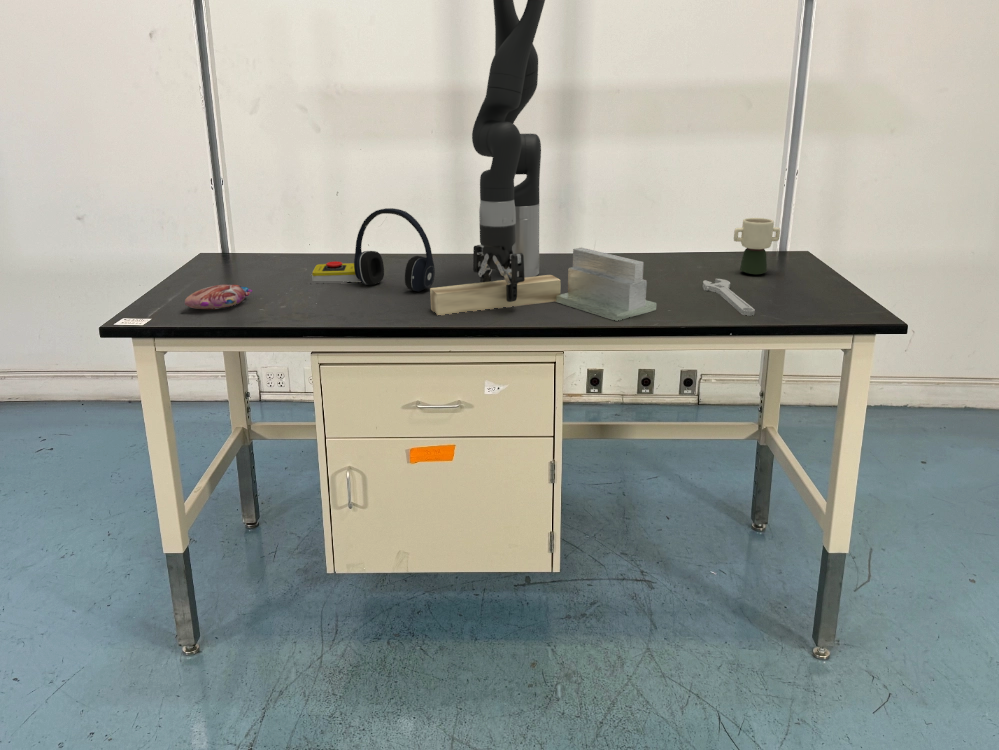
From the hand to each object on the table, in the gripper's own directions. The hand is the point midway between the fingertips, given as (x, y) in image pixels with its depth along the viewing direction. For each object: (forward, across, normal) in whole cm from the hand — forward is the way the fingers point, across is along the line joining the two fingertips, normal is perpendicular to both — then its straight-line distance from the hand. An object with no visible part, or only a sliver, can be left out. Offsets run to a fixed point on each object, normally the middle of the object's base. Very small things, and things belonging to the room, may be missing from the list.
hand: (498, 297), depth 172 cm
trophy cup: (+2, -20, -64) cm, 67 cm away
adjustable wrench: (+2, -29, -40) cm, 50 cm away
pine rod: (+2, 0, 0) cm, 2 cm away
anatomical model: (+2, +41, +44) cm, 60 cm away
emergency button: (+2, +44, +14) cm, 46 cm away
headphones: (+2, +28, +9) cm, 29 cm away
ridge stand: (+2, -16, -17) cm, 23 cm away
